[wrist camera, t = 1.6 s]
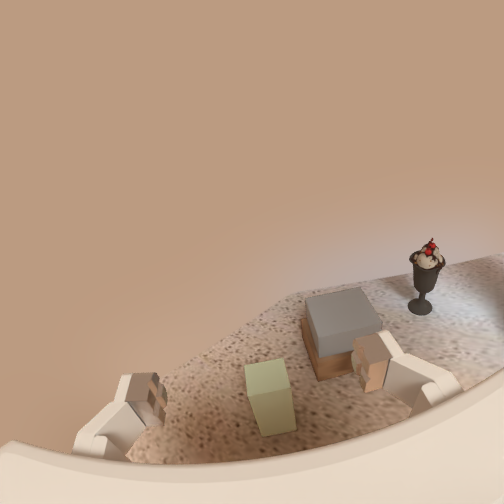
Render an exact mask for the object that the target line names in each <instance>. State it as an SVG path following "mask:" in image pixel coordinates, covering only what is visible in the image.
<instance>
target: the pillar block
mask: <svg viewBox="0 0 504 504" xmlns="http://www.w3.org/2000/svg"><path fill="white" fill-rule="evenodd" d="M244 370H245V378H246V387H247V395H248V398H249V401H250V404H251V407H252V410H253V413H254V416H255V419H256V422H257V424H258V427H259V430H260V433H261V436H262V437H265V436H271V435H276V434H281V433H286V432H291V431H295V430H297V428H296V421H295V414H294V406H293V399H292V392H291V386H290V382H289V378H288V374H287V371H286V367H285V363H284V359H283V358H279V359H274V360H269V361H264V362H259V363H254V364H249V365H244Z"/></svg>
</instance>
